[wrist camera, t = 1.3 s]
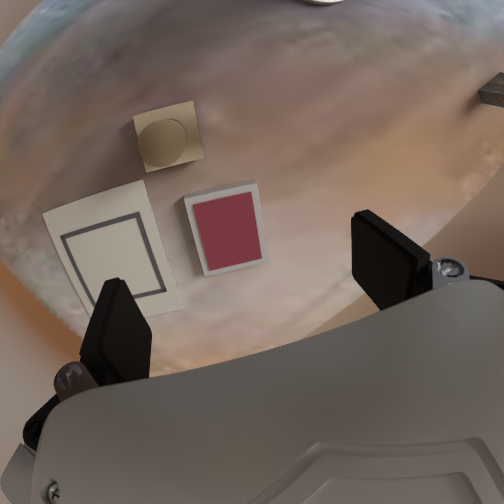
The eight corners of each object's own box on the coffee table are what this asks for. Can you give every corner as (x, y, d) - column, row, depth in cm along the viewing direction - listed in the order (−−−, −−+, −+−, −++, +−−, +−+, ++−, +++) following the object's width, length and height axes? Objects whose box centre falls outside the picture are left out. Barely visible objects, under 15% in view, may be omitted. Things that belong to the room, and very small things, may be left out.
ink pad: (184, 195, 31) (183, 199, 29) (254, 179, 32) (257, 183, 30) (204, 270, 36) (205, 277, 34) (265, 255, 37) (269, 262, 35)
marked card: (43, 213, 28) (41, 214, 27) (143, 179, 29) (142, 179, 29) (96, 325, 36) (96, 327, 36) (184, 307, 38) (184, 309, 37)
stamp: (137, 115, 26) (114, 117, 17) (192, 101, 26) (193, 96, 18) (149, 168, 29) (133, 191, 20) (203, 154, 29) (208, 172, 21)
